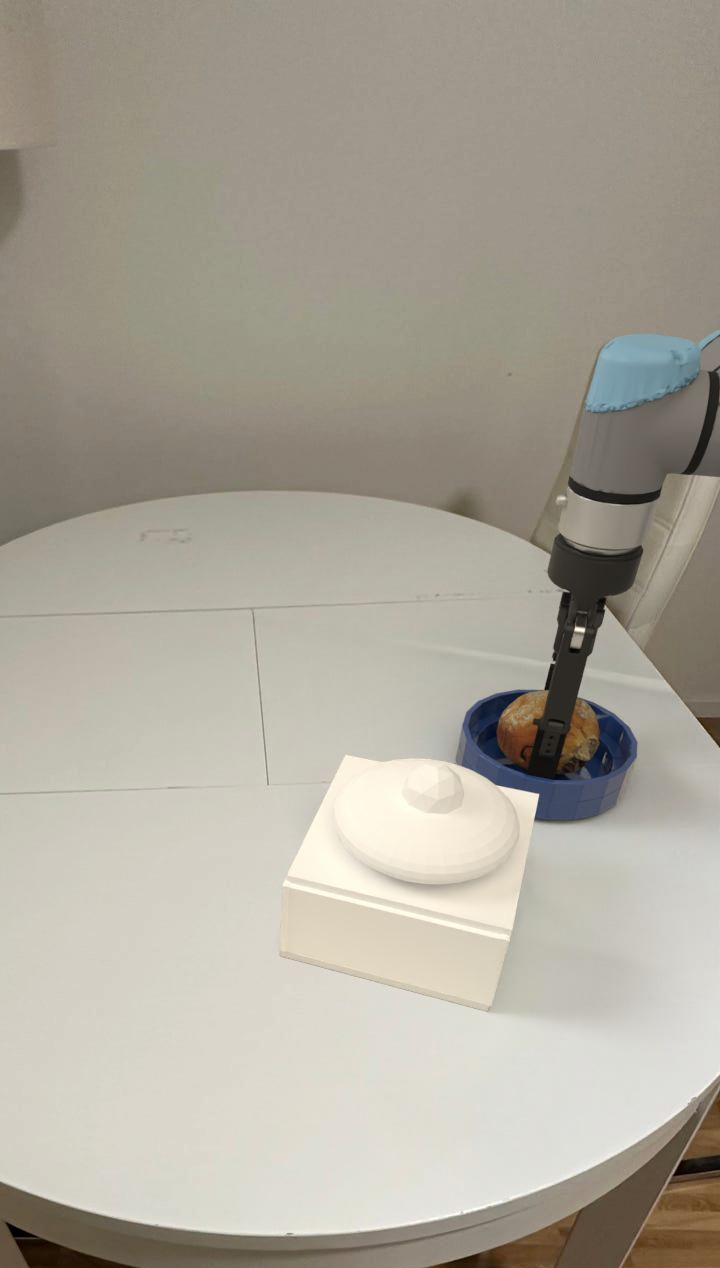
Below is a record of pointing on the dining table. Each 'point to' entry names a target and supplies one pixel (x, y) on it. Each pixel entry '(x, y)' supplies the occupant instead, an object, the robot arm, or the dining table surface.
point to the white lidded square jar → (410, 878)
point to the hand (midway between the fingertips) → (544, 748)
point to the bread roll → (521, 733)
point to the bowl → (565, 793)
